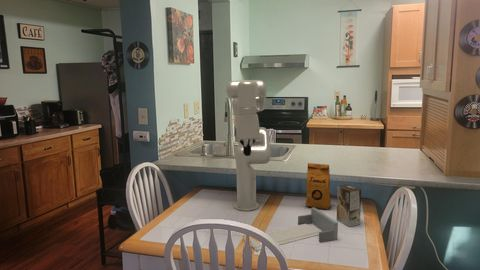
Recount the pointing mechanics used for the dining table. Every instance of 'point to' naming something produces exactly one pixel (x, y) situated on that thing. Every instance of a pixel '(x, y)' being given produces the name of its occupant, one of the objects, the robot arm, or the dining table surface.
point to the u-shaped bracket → (321, 224)
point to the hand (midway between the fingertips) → (247, 155)
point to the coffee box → (348, 205)
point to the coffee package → (318, 186)
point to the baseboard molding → (288, 235)
